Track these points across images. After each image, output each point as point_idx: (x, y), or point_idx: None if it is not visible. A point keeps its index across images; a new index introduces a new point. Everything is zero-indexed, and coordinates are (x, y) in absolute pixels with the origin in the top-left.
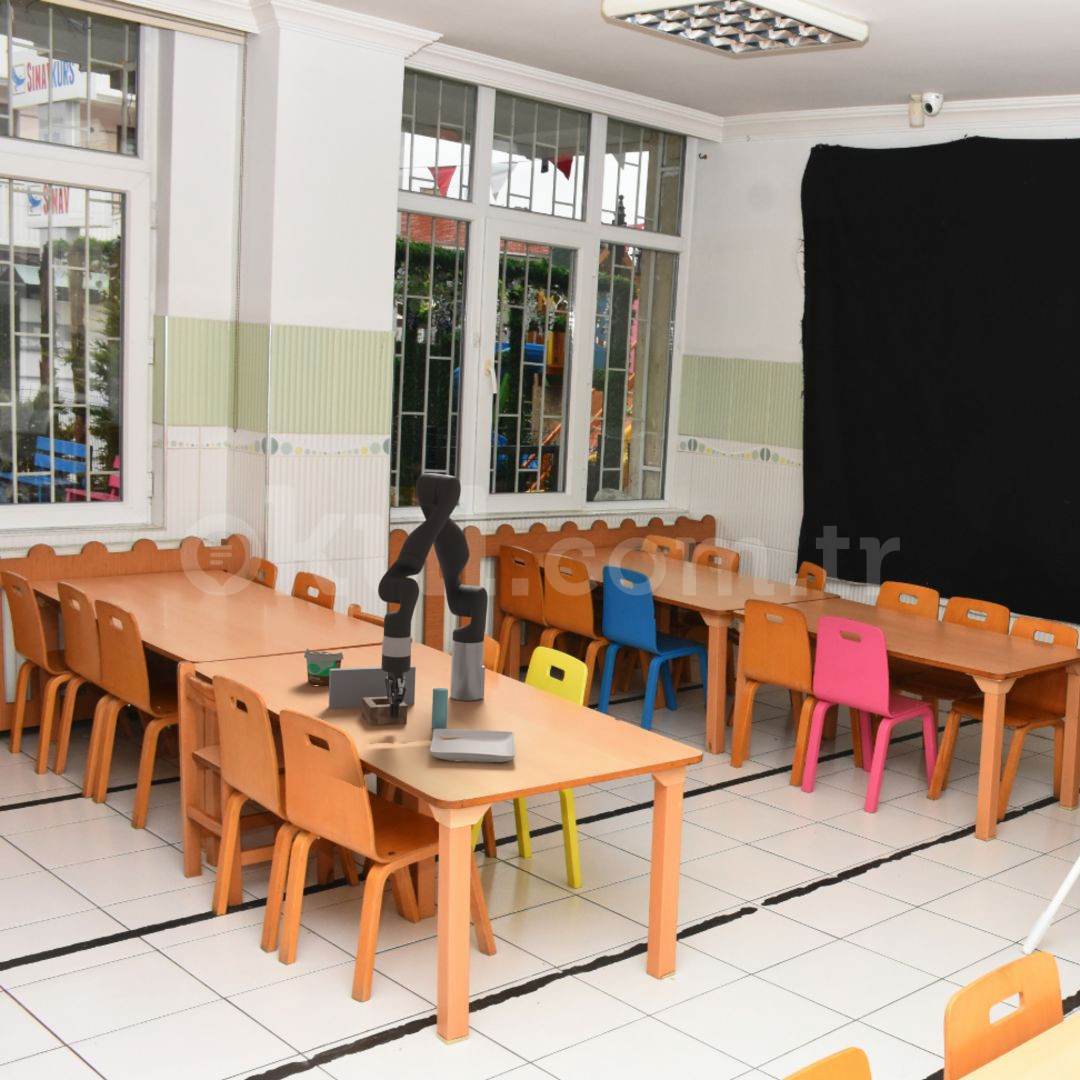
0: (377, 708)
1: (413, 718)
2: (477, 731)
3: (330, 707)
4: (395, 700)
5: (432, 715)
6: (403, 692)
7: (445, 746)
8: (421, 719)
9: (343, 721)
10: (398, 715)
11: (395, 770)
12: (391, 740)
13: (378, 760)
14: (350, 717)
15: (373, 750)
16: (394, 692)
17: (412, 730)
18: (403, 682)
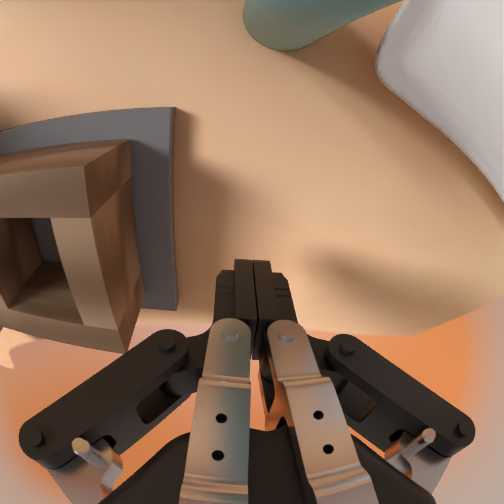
0: (121, 326)
1: (22, 86)
2: None
3: (2, 327)
4: (361, 391)
5: (304, 30)
6: (449, 417)
7: (477, 119)
8: (39, 53)
9: None
10: (270, 268)
11: (484, 298)
12: (302, 249)
13: (430, 318)
14: None
15: (367, 318)
16: (376, 446)
17: (182, 116)
18: (369, 499)
